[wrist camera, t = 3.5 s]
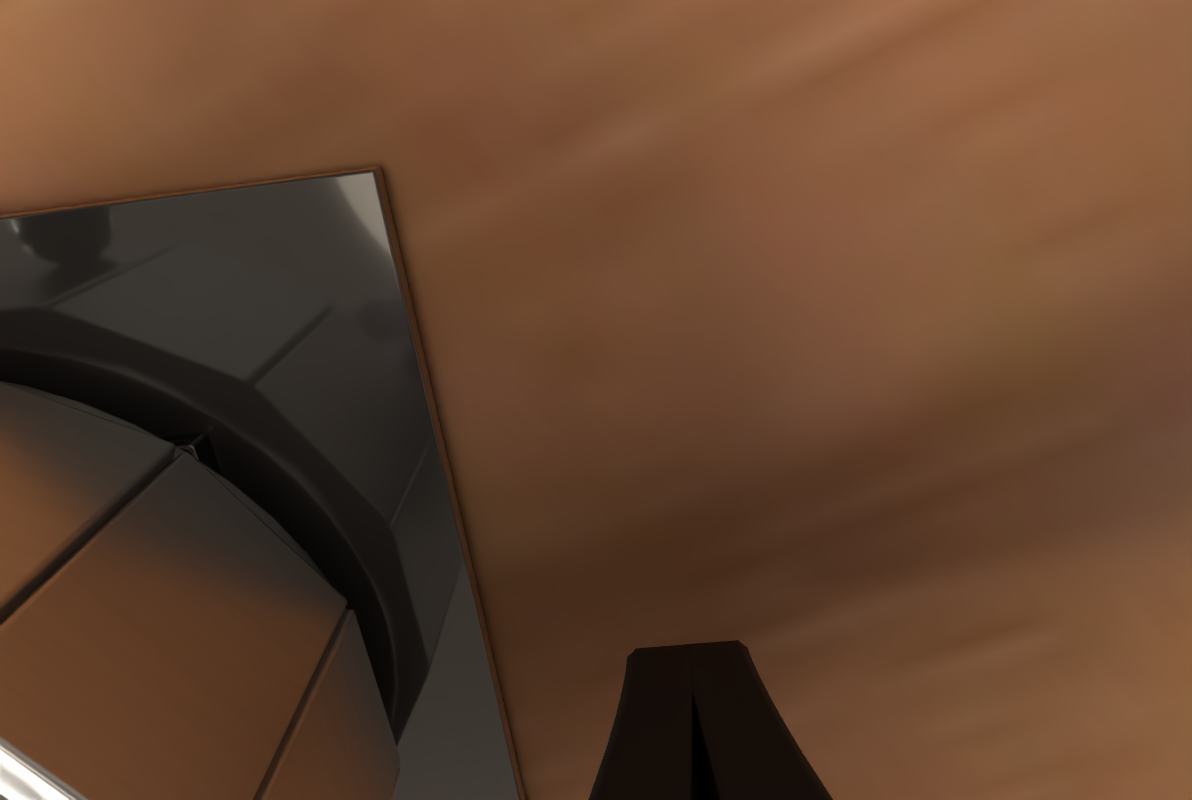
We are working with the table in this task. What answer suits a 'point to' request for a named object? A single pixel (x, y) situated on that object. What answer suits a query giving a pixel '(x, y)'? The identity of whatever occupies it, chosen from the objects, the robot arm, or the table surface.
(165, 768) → the saucepan
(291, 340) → the hob
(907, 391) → the table surface
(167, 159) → the table surface
